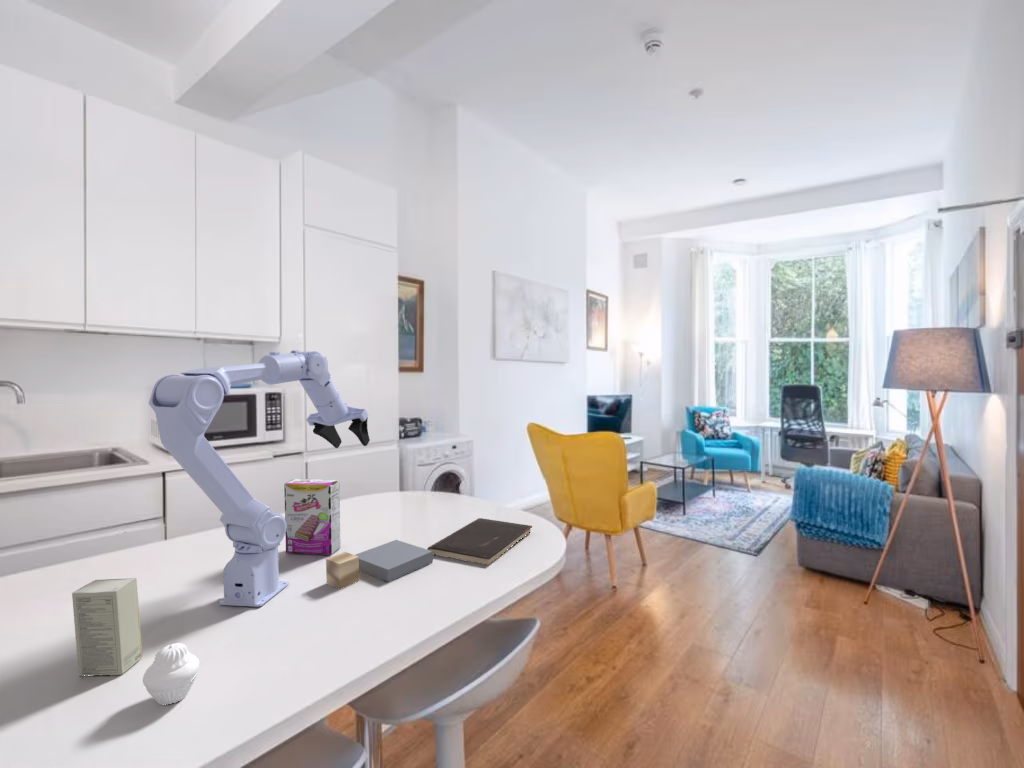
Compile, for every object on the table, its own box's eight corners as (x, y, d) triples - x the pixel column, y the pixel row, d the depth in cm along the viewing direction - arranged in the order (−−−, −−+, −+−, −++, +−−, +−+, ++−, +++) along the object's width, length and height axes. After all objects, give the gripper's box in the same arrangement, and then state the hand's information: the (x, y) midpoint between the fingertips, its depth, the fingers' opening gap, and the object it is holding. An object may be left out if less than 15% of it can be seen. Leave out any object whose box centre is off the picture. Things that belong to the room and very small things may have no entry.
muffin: (211, 686, 68) (210, 635, 67) (170, 717, 62) (168, 662, 61) (175, 679, 69) (173, 629, 69) (131, 709, 63) (129, 654, 63)
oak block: (359, 581, 100) (358, 556, 100) (339, 589, 96) (339, 564, 96) (346, 575, 102) (345, 551, 102) (326, 583, 99) (325, 558, 99)
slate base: (432, 562, 109) (432, 551, 109) (388, 582, 99) (388, 569, 99) (396, 550, 116) (396, 539, 116) (351, 567, 106) (351, 555, 106)
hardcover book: (532, 534, 128) (532, 525, 127) (489, 568, 107) (489, 558, 107) (477, 526, 135) (477, 517, 134) (427, 556, 114) (427, 546, 114)
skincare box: (143, 658, 74) (140, 577, 74) (121, 676, 70) (117, 591, 69) (99, 659, 74) (96, 578, 73) (74, 678, 70) (70, 592, 69)
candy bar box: (284, 554, 114) (282, 483, 113) (296, 546, 119) (294, 478, 118) (331, 556, 113) (330, 484, 112) (341, 548, 118) (340, 478, 117)
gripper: (362, 384, 111) (386, 430, 119) (307, 390, 115) (333, 434, 123) (348, 404, 105) (374, 451, 113) (291, 410, 110) (320, 455, 117)
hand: (352, 444), depth 117 cm, fingers open, 7 cm apart
